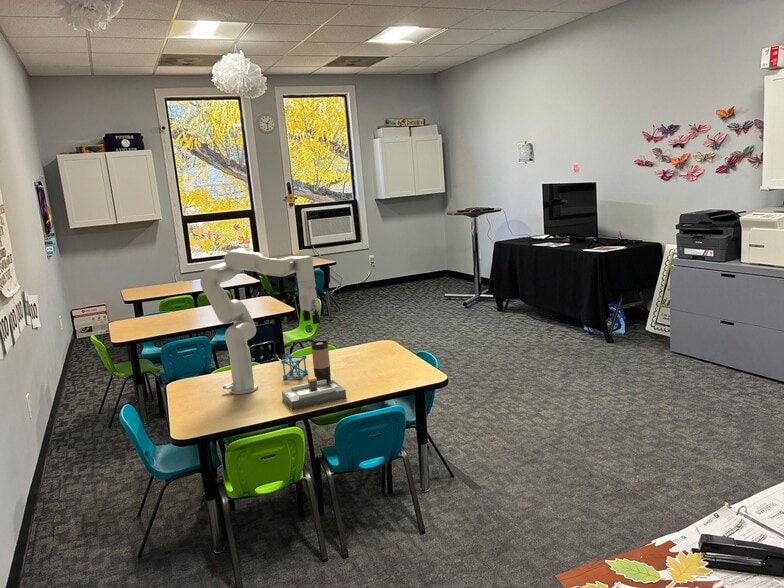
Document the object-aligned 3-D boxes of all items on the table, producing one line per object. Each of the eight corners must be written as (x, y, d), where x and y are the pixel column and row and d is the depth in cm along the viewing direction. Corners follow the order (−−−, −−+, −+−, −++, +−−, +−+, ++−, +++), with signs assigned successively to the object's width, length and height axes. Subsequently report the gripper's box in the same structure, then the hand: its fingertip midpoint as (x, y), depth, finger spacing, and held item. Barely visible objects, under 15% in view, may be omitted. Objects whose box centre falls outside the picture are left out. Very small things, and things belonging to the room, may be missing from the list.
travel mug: (334, 381, 280) (330, 340, 276) (328, 386, 273) (323, 344, 269) (319, 380, 282) (315, 340, 278) (312, 386, 275) (308, 344, 271)
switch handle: (310, 391, 255) (309, 379, 254) (308, 389, 258) (307, 377, 257) (317, 389, 256) (316, 378, 255) (315, 387, 259) (314, 376, 258)
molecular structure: (282, 380, 287) (279, 360, 286) (290, 373, 297) (288, 354, 295) (301, 380, 285) (299, 360, 283) (308, 373, 294) (306, 354, 293)
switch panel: (292, 410, 246) (291, 398, 245) (282, 399, 260) (281, 387, 259) (346, 398, 256) (345, 386, 255) (333, 388, 270) (332, 376, 269)
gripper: (291, 284, 264) (296, 321, 267) (307, 287, 250) (312, 326, 253) (306, 281, 268) (311, 318, 271) (323, 284, 253) (328, 322, 256)
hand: (311, 322), depth 262 cm, fingers open, 9 cm apart
